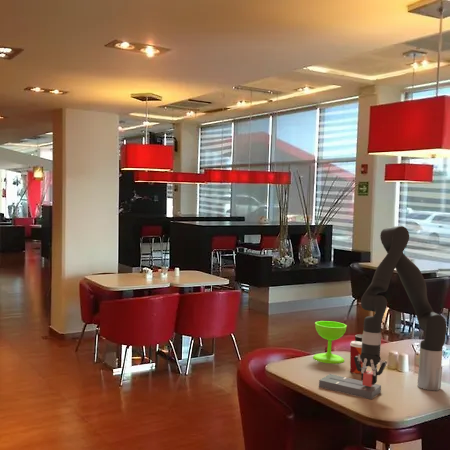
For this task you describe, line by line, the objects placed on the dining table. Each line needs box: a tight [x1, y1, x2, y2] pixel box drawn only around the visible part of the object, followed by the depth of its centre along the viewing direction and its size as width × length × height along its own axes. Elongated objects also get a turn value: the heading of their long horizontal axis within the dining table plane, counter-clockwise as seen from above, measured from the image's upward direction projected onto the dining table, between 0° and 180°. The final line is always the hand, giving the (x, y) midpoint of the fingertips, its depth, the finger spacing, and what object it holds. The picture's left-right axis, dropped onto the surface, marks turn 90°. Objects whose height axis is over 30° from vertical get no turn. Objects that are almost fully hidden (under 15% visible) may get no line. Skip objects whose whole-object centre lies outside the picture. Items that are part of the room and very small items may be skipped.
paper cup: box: [349, 340, 363, 375], centre depth 264 cm, size 8×8×14 cm
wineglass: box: [312, 320, 348, 364], centre depth 285 cm, size 16×16×18 cm
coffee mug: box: [354, 334, 363, 342], centre depth 296 cm, size 12×9×10 cm
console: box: [318, 373, 382, 400], centre depth 237 cm, size 23×12×3 cm, turn 57°
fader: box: [363, 370, 373, 387], centre depth 233 cm, size 4×5×6 cm
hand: (368, 382), depth 233 cm, fingers closed on fader, 3 cm apart
